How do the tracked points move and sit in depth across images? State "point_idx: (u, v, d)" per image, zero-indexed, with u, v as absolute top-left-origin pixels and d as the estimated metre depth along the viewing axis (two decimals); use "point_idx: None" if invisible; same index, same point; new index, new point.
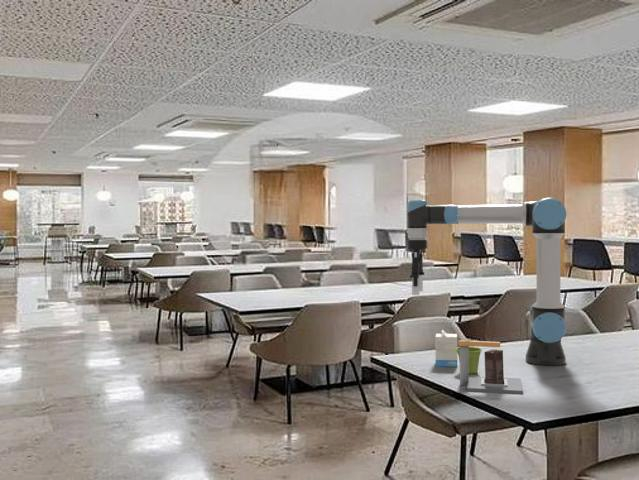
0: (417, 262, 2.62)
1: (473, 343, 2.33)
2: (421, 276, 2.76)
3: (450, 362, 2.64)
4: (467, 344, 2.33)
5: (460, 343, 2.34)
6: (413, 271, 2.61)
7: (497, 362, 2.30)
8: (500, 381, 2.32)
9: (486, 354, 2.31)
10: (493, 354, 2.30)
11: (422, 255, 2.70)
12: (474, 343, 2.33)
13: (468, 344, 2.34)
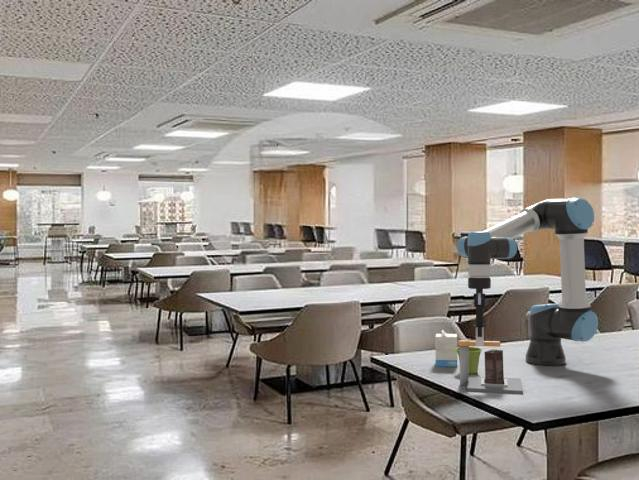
0: (482, 310, 2.28)
1: (473, 343, 2.34)
2: None
3: (450, 362, 2.64)
4: (467, 344, 2.33)
5: (460, 343, 2.34)
6: (477, 321, 2.29)
7: (497, 362, 2.30)
8: (500, 381, 2.32)
9: (486, 354, 2.31)
10: (493, 354, 2.30)
11: None
12: (474, 343, 2.34)
13: (468, 344, 2.34)
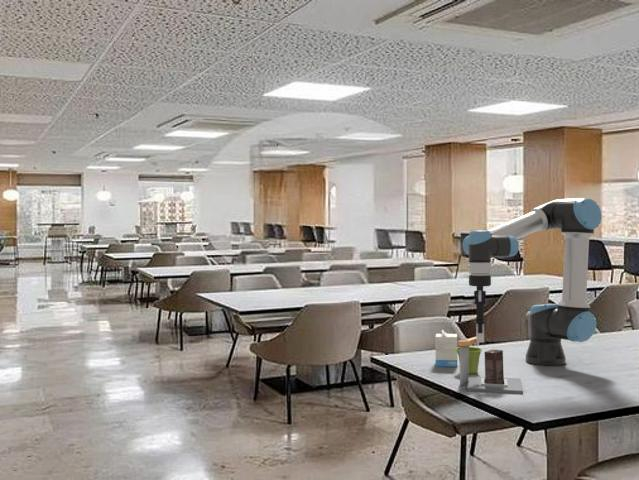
0: (482, 307, 2.34)
1: (471, 341, 2.37)
2: None
3: (450, 362, 2.64)
4: (469, 343, 2.35)
5: (466, 343, 2.33)
6: (478, 318, 2.35)
7: (497, 362, 2.30)
8: (500, 381, 2.32)
9: (486, 354, 2.31)
10: (493, 354, 2.30)
11: (485, 291, 2.39)
12: (471, 341, 2.37)
13: None
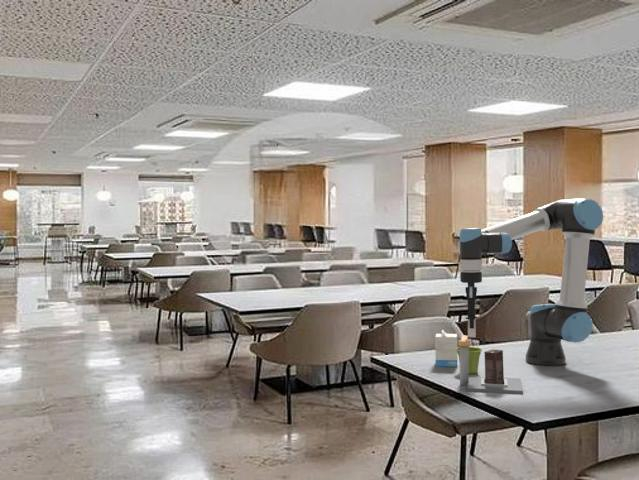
0: (473, 303, 2.39)
1: None
2: None
3: (450, 362, 2.64)
4: None
5: (468, 343, 2.34)
6: (469, 313, 2.40)
7: (497, 362, 2.30)
8: (500, 381, 2.32)
9: (486, 354, 2.31)
10: (493, 354, 2.30)
11: (476, 287, 2.44)
12: (467, 340, 2.38)
13: None
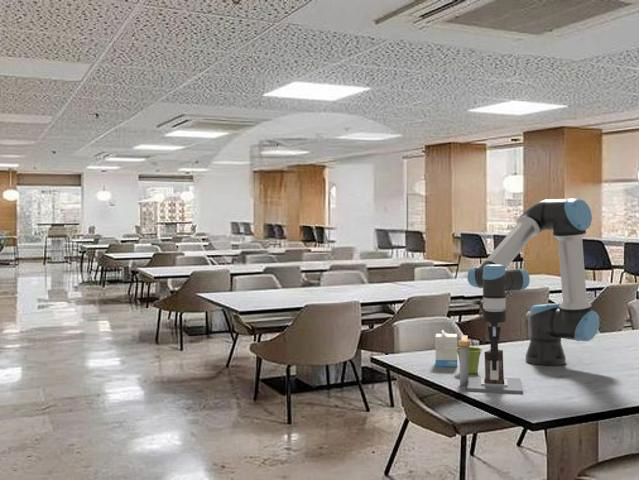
0: (496, 343, 2.26)
1: None
2: None
3: (450, 362, 2.64)
4: None
5: (468, 343, 2.34)
6: (492, 354, 2.26)
7: None
8: (500, 381, 2.32)
9: (486, 354, 2.31)
10: None
11: None
12: (467, 340, 2.38)
13: None
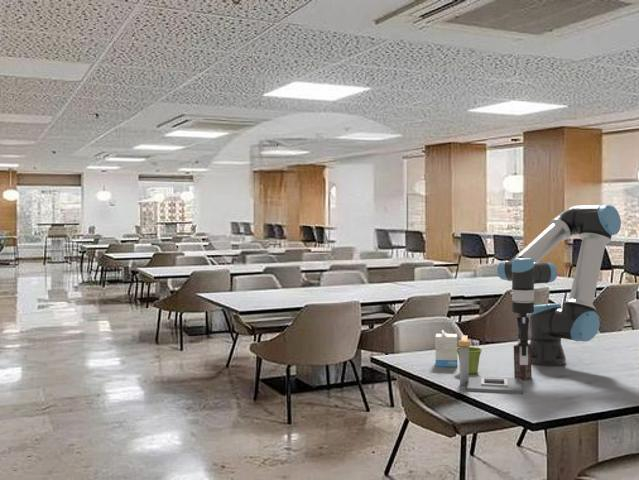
0: (526, 329, 2.36)
1: None
2: None
3: (450, 362, 2.64)
4: None
5: (468, 343, 2.34)
6: (522, 339, 2.35)
7: None
8: (528, 374, 2.43)
9: (515, 347, 2.43)
10: None
11: None
12: (467, 340, 2.38)
13: None
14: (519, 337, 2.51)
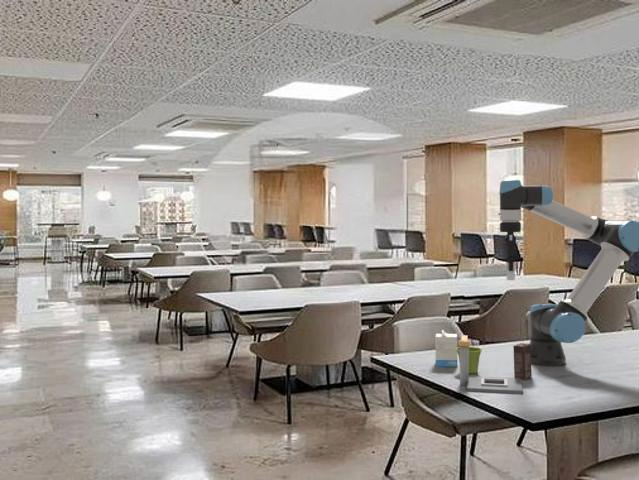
0: (513, 245, 2.47)
1: None
2: None
3: (450, 362, 2.64)
4: None
5: (468, 343, 2.34)
6: (509, 255, 2.46)
7: (525, 355, 2.41)
8: (528, 374, 2.43)
9: (515, 348, 2.43)
10: (522, 347, 2.41)
11: None
12: (467, 340, 2.38)
13: None
14: (507, 258, 2.62)
